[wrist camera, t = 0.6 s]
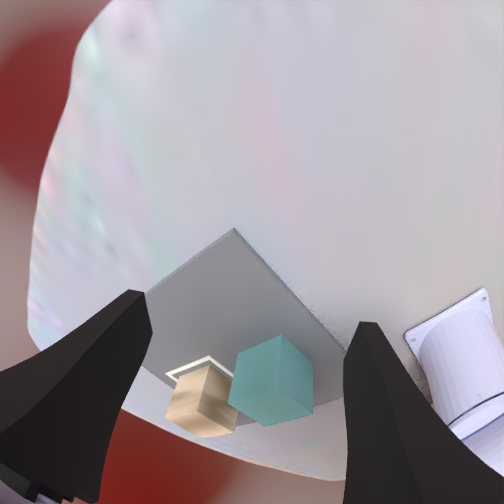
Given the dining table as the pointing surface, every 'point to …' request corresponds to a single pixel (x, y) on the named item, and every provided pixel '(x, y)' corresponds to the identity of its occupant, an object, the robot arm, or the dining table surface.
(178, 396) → the birch block
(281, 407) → the teal block
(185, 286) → the gray board
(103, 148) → the dining table surface
